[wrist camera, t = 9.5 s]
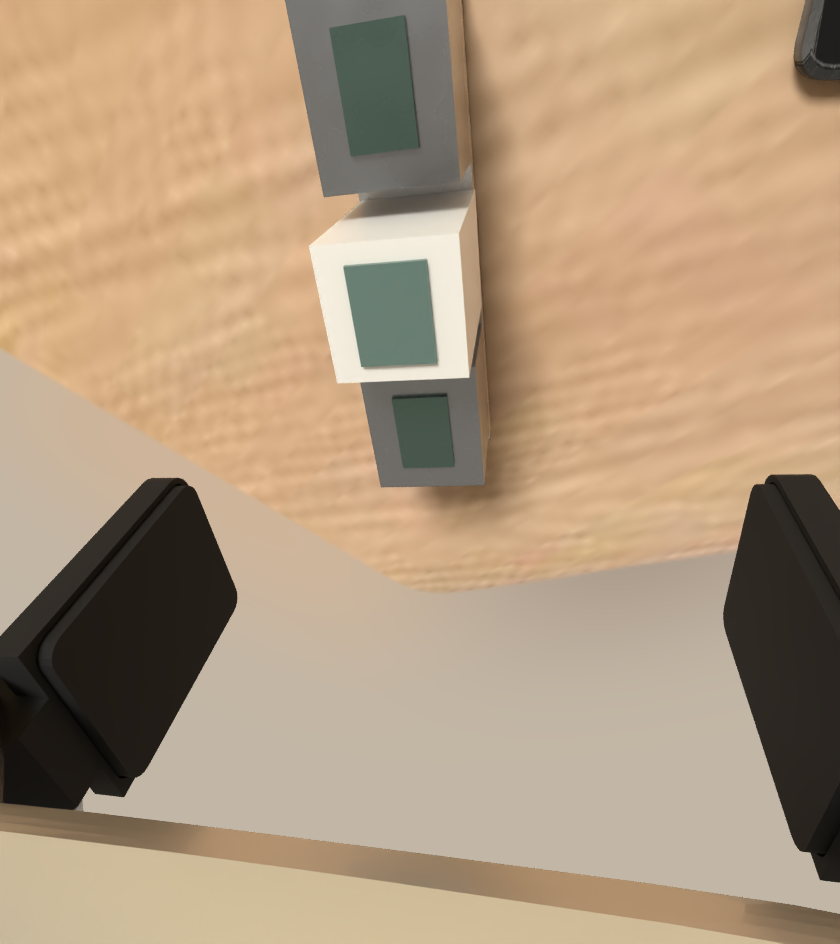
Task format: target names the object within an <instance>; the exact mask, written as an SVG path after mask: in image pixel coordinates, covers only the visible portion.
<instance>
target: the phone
mask: <svg viewBox="0 0 840 944" xmlns="http://www.w3.org/2000/svg"><path fill="white" fill-rule="evenodd" d="M794 60H795V65H796V67H797V69H798V70H799V72H800V73H801V74H802V75H804V76H805V77H807V78H809V79H816V80H840V0H806V1H805V5H804V9H803V13H802V17H801V21H800V25H799V30H798V34H797V38H796V42H795V48H794Z"/></svg>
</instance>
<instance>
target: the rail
mask: <svg viewBox="0 0 840 944" xmlns="http://www.w3.org/2000/svg"><path fill="white" fill-rule="evenodd" d="M285 3H286V8H287V13H288V18H289V23H290V28H291V33H292V38H293V43H294V48H295V53H296V58H297V63H298V69H299V74H300V79H301V84H302V89H303V94H304V99H305V104H306V109H307V114H308V119H309V124H310V129H311V135H312V140H313V145H314V150H315V155H316V160H317V165H318V170H319V175H320V180H321V185H322V190H323V195H324V197H330V196H339V195H347V194H356V193H358V195H359V200H360V202H361V201H364V200H374V199H384V198H394V197H405V196H415V195H425V194H435V193H445V192H455V191H465V190H475V186H474V171H473V156H472V141H471V126H470V111H469V97H468V82H467V67H466V52H465V37H464V22H463V7H462V0H285ZM478 248H479V245H478ZM479 266H480V260H479ZM480 284H481V275H480ZM481 302H482V290H481ZM360 383H361V388H362V393H363V398H364V403H365V408H366V414H367V419H368V424H369V429H370V434H371V439H372V444H373V449H374V454H375V459H376V464H377V469H378V474H379V479H380V485H381V487H422V486H473V485H485V474H486V463H487V452H488V440H489V439H490V432H491V423H490V408H489V394H488V379H487V364H486V349H485V334H484V319H483V304H482V306H481V311H480V317H479V323H478V329H477V335H476V341H475V347H474V353H473V359H472V365H471V371H470V377H469V378H451V379H427V380H404V381H380V382H360Z"/></svg>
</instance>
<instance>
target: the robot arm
mask: <svg viewBox="0 0 840 944" xmlns="http://www.w3.org/2000/svg"><path fill="white" fill-rule="evenodd" d="M236 604H237V591H236V588H235V585H234V583H233V580H232V578H231V576H230V573H229V571H228V568H227V566H226V563H225V561H224V558H223V556H222V554H221V551H220V549H219V546H218V544H217V541H216V539H215V537H214V534H213V532H212V529H211V527H210V524H209V522H208V519H207V517H206V514H205V512H204V509H203V507H202V505H201V502H200V500H199V497H198V495H197V492H196V491H195V489H194V488H193V487H191V486H188V484H187V483H186V482H185V481H184V480H183V479H180V478H151V479H148V480H146V481H145V482H144V483H143V484H142V485H141V486H140V487H139V488H138V489H137V490H136V491H135V493H133V495H132V496H131V497H130V498H129V499H128V500H127V501H126V502H125V503H124V504H123V505H122V506H121V507H120V508H119V510H118V511H117V512H116V513H115V514H114V515H113V516H112V517H111V518H110V519H109V520H108V521H107V523H105V525H104V526H103V527H102V528H101V529H100V530H99V531H98V532H97V533H96V534H95V535H94V536H93V537H92V538H91V539H90V541H89V542H88V543H87V544H86V545H85V546H84V547H83V548H82V549H81V550H80V551H79V552H78V553H77V554H76V556H75V557H74V558H73V559H72V560H71V561H70V562H69V563H68V564H67V565H66V566H65V567H64V569H62V571H61V572H60V573H59V574H58V575H57V576H56V577H55V578H54V579H53V580H52V581H51V582H50V583H49V584H48V586H47V587H46V588H45V589H44V590H43V591H42V592H41V593H40V594H39V596H37V597H36V599H35V600H34V601H33V602H32V603H31V604H30V605H29V606H28V607H27V608H26V609H25V610H24V611H23V612H22V613H21V614H20V616H19V617H18V618H17V619H16V620H15V621H14V622H13V623H12V624H11V625H10V626H9V627H8V628H7V630H6V631H5V632H4V633H3V634H2V635H1V636H0V944H840V914H837V913H832V912H827V911H822V910H817V909H811V908H806V907H801V906H796V905H790V904H783V903H776V902H769V901H763V900H756V899H749V898H743V897H736V896H729V895H723V894H715V893H709V892H702V891H696V890H689V889H682V888H676V887H668V886H662V885H656V884H649V883H641V882H634V881H627V880H619V879H611V878H604V877H596V876H589V875H581V874H573V873H566V872H558V871H551V870H543V869H535V868H528V867H520V866H513V865H504V864H497V863H490V862H482V861H474V860H467V859H459V858H452V857H444V856H436V855H429V854H420V853H412V852H405V851H397V850H389V849H382V848H373V847H365V846H358V845H350V844H342V843H334V842H326V841H319V840H310V839H303V838H294V837H287V836H279V835H271V834H263V833H254V832H247V831H239V830H231V829H222V828H215V827H206V826H198V825H190V824H182V823H173V822H165V821H157V820H149V819H140V818H132V817H124V816H116V815H107V814H99V813H91V812H83V804H82V799H83V797H84V795H85V794H86V792H87V791H88V789H89V787H90V788H91V789H92V791H93V792H94V793H95V794H101V795H110V796H118V797H124V796H125V795H126V793H127V791H128V789H129V788H130V786H131V784H132V782H133V780H134V779H135V777H138V776H140V775H141V774H142V773H144V772H145V770H146V768H147V767H148V765H149V763H150V762H151V760H152V758H153V756H154V755H155V753H156V751H157V749H158V747H159V746H160V744H161V742H162V740H163V738H164V737H165V735H166V733H167V731H168V729H169V727H170V726H171V724H172V722H173V720H174V718H175V717H176V715H177V713H178V711H179V709H180V708H181V706H182V704H183V702H184V700H185V699H186V697H187V695H188V693H189V691H190V690H191V688H192V686H193V684H194V682H195V681H196V679H197V677H198V675H199V673H200V671H201V670H202V668H203V666H204V664H205V662H206V661H207V659H208V657H209V655H210V653H211V652H212V650H213V648H214V646H215V644H216V642H217V641H218V639H219V637H220V635H221V634H222V632H223V630H224V628H225V626H226V625H227V623H228V621H229V619H230V617H231V615H232V614H233V612H234V609H235V607H236ZM723 615H724V616H723V619H724V627H725V631H726V635H727V637H728V641H729V644H730V647H731V650H732V653H733V656H734V660H735V663H736V666H737V669H738V672H739V675H740V678H741V681H742V684H743V687H744V690H745V694H746V697H747V700H748V703H749V706H750V709H751V712H752V715H753V718H754V721H755V724H756V728H757V731H758V734H759V736H760V740H761V743H762V746H763V749H764V752H765V755H766V758H767V761H768V764H769V767H770V771H771V774H772V777H773V780H774V783H775V786H776V789H777V792H778V796H779V798H780V802H781V804H782V808H783V811H784V814H785V817H786V820H787V823H788V826H789V829H790V833H791V835H792V838H793V840H794V843H795V845H796V846H797V848H798V849H799V850H800V851H802V852H810V853H811V855H812V858H813V861H814V863H815V867H816V870H817V873H818V875H819V878H820V880H823V881H831V882H840V510H839V509H838V507H837V506H836V504H835V503H834V501H833V500H832V498H831V497H830V495H829V494H828V492H827V491H826V489H825V488H824V486H823V485H822V483H821V482H820V480H819V479H818V478H817V477H816V476H815V475H812V474H804V475H770V476H768V478H767V479H766V481H765V484H756V485H754V486H753V488H752V491H751V494H750V498H749V502H748V507H747V511H746V515H745V519H744V524H743V528H742V532H741V537H740V541H739V545H738V550H737V554H736V558H735V562H734V567H733V571H732V575H731V580H730V584H729V588H728V592H727V597H726V601H725V605H724V612H723Z"/></svg>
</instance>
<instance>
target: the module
mask: <svg viewBox="0 0 840 944" xmlns="http://www.w3.org/2000/svg"><path fill="white" fill-rule="evenodd" d="M309 249H310V254H311V259H312V264H313V269H314V273H315V278H316V283H317V288H318V293H319V297H320V302H321V307H322V312H323V317H324V321H325V326H326V331H327V336H328V341H329V346H330V350H331V355H332V360H333V365H334V370H335V374H336V379H337V383H357V382H380V381H404V380H427V379H451V378H469V377H470V371H471V365H472V359H473V353H474V347H475V341H476V335H477V329H478V323H479V317H480V311H481V306H482V302H481V284H480V266H479V248H478V230H477V212H476V194H475V190H465V191H455V192H445V193H435V194H425V195H415V196H405V197H394V198H384V199H374V200H364V201H361V202H360V203H359V204H358V205H356V206H355V207H354V208H353V209H352V210H351V211H349V212H348V213H347V214H346V215H345V216H344V217H342V218H341V219H340V220H339V221H338V222H337V223H335V224H334V225H333V226H332V227H331V228H330V229H328V230H327V231H326V232H325V233H324V234H323V235H321V236H320V237H319V238H318V239H317V240H316V241H314V242H313V243H312V244H311V245H310V246H309Z"/></svg>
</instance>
